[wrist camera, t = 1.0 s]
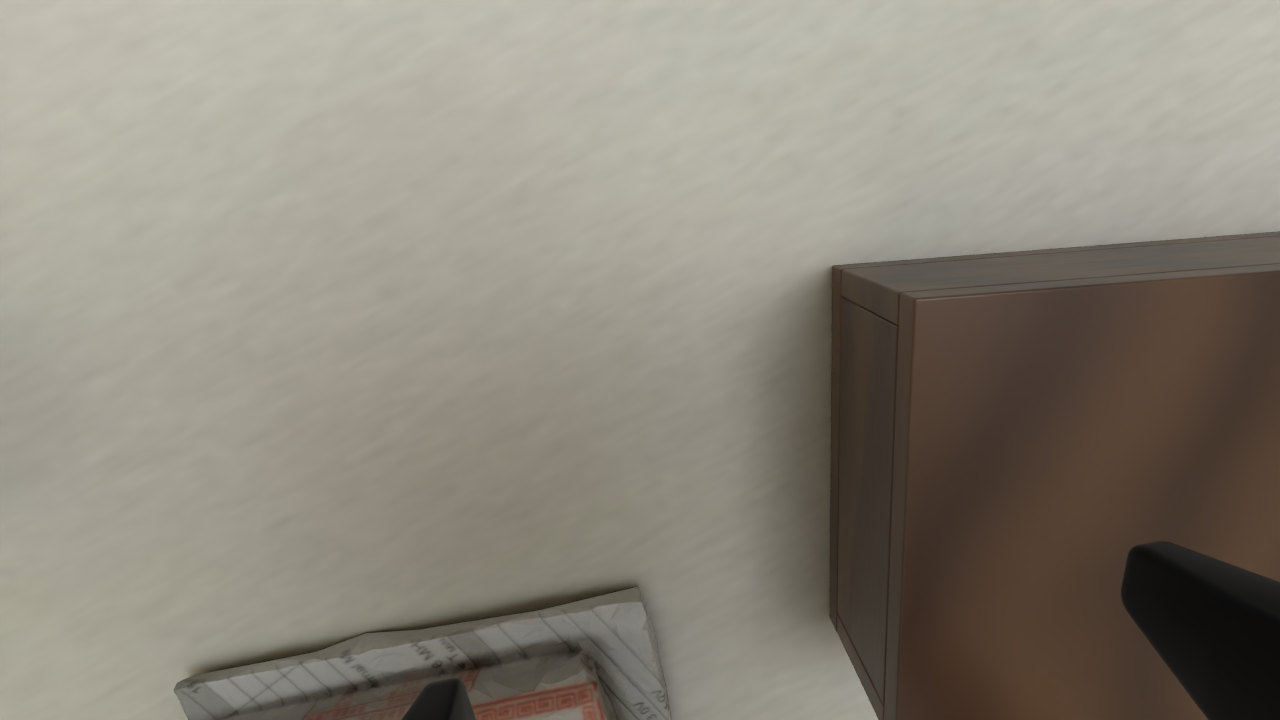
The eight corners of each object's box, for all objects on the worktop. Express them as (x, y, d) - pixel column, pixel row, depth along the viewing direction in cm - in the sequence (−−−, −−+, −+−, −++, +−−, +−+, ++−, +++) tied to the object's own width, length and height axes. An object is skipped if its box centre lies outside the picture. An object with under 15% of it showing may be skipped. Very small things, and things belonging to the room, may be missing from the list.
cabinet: (1300, 229, 22) (1565, 248, 15) (1228, 585, 25) (1419, 713, 19) (832, 265, 21) (914, 298, 15) (829, 617, 25) (894, 755, 19)
